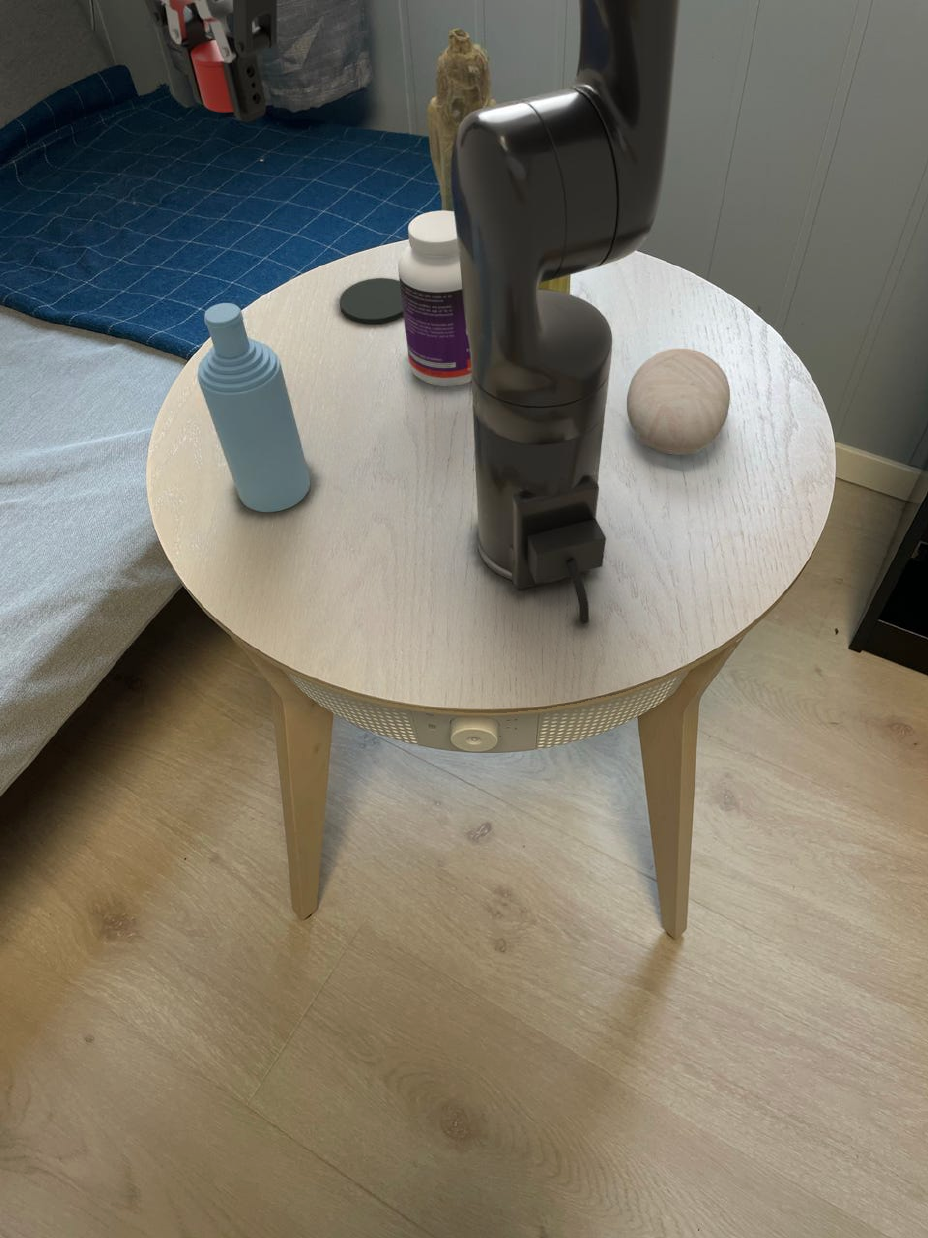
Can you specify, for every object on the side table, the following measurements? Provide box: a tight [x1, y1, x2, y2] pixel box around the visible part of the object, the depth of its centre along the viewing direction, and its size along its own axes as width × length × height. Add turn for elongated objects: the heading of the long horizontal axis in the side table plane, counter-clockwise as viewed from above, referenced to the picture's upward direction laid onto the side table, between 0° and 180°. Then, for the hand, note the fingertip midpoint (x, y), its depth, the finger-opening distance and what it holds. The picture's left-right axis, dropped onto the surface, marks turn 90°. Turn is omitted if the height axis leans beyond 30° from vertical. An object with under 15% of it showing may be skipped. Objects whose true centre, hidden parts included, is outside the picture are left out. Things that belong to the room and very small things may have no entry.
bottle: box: [196, 302, 311, 513], centre depth 69 cm, size 6×6×17 cm
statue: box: [426, 27, 498, 212], centre depth 84 cm, size 7×8×25 cm
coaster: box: [339, 277, 404, 325], centre depth 93 cm, size 8×8×1 cm
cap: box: [191, 39, 234, 113], centre depth 58 cm, size 4×4×3 cm
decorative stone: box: [626, 348, 731, 455], centre depth 76 cm, size 13×9×5 cm
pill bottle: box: [397, 210, 472, 387], centre depth 80 cm, size 8×8×14 cm
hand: (231, 107), depth 59 cm, fingers closed on cap, 4 cm apart
